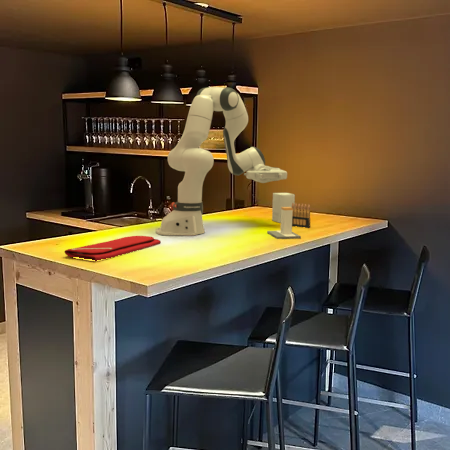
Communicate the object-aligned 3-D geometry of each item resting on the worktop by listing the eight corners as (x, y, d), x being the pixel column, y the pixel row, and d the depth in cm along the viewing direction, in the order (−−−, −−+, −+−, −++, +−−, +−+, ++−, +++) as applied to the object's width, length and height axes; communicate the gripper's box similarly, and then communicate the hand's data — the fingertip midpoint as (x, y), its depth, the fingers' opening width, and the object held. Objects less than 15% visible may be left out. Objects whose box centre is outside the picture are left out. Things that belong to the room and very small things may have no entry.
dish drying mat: (161, 244, 238) (161, 236, 237) (97, 263, 202) (97, 253, 201) (131, 240, 245) (131, 232, 244) (63, 258, 209) (63, 248, 208)
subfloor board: (277, 238, 253) (277, 236, 253) (267, 233, 268) (267, 230, 267) (300, 238, 256) (300, 236, 255) (289, 232, 270) (289, 230, 270)
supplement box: (294, 222, 302) (295, 194, 300) (279, 222, 299) (280, 194, 296) (286, 219, 310) (287, 192, 308) (271, 220, 307) (272, 192, 305)
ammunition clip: (289, 225, 290) (290, 202, 288) (291, 225, 292) (292, 202, 290) (308, 228, 284) (309, 204, 282) (310, 227, 286) (311, 203, 284)
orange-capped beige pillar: (283, 234, 259) (284, 208, 257) (280, 232, 263) (281, 206, 261) (291, 234, 260) (292, 208, 258) (288, 232, 264) (289, 206, 262)
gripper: (243, 167, 285) (250, 169, 271) (282, 167, 289) (291, 169, 276) (242, 180, 286) (249, 182, 272) (281, 180, 290) (290, 182, 277)
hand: (271, 176), depth 274 cm, fingers open, 8 cm apart
